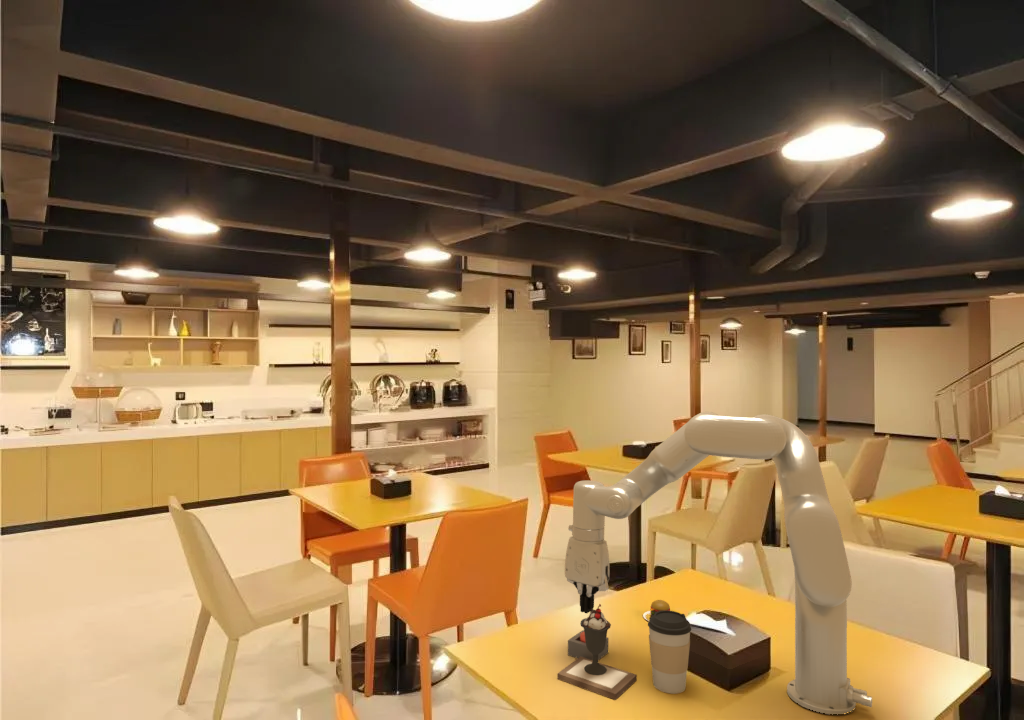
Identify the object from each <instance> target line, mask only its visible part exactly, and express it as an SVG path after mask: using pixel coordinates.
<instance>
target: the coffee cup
mask: <svg viewBox="0 0 1024 720" xmlns="http://www.w3.org/2000/svg"><path fill="white" fill-rule="evenodd" d="M648 620H649V621H647V622H648V623H647V627H648V631H649V634H648V641H649V642H648V643H649V654H650V666H651V670H652V672H651V673H652V684H653V686H654V688H655V689H657V690H658V691H660V692H663V693H667V694H672V695H673V694H681V693H683V692H684V691H685V690H686V688H687V687H686V684H687V673H688V672H687V670H688V666H689V658H690V657H689V656H690V646H691V639H690V638H691V637H690V635H691V631H692V627H691V623H690V621H689V620H688V619H687V617H686V614H685V613H680V612H677V611H675V610H670V611H669V610H662V611H657V612H655V613H654V615H653V616H652V617H651V616H650V617H649V619H648Z"/></svg>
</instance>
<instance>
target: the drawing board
mask: <svg viewBox="0 0 1024 720" xmlns="http://www.w3.org/2000/svg"><path fill="white" fill-rule="evenodd" d="M592 661H593V660H590V659H587V658H584V657H581V656H580V657H579V658H575V660H573V661H572V662H571V663H570V664H568V665H567V666H565V667H564V668H563V669H561V670H560V671H558V673H556V674H557V680H560V681H562V682H564V683H568V684H569V685H573V686H576V687H579V688H581V689H584V690H587V691H590V692H592V693H594V694H598V695H601V696H603V697H607V698H609V699H611V700H615V701H616V700H617V699H618V698H620V696H621V695H623V693H625V692H626V691H627V690H628V689H629V688H630V687H631V686H632V685H633V684H635V682H637V678H638V677H637V674H635V673H632V672H630V671H626V670H623V669H620V668H617V667H614V666H611V665H607V664H605V663H602V662H599V664H600V665H603V666H605V667H606V669H607V671H606V673H604V674H602V675H592V674H589V673H587V672H586V671H585V670H584V667H585V666H586V665H588V664H592Z"/></svg>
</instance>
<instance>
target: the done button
mask: <svg viewBox="0 0 1024 720" xmlns="http://www.w3.org/2000/svg"><path fill="white" fill-rule="evenodd" d="M580 641H581V642H584V643H586V641H585V632H582V633H580Z"/></svg>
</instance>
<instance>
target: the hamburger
mask: <svg viewBox="0 0 1024 720" xmlns="http://www.w3.org/2000/svg"><path fill="white" fill-rule="evenodd" d="M649 609H650V610H647V611H645V612H644V613H643V614H642V618H644V620H646V621H647V622H649V619H647V616H648V615H650V618H651V617H652V616H653V615H654V613H655V612H657V611H662V610H669V611H671V608H670V604H669V603H668V602H667V601H665V600H664V599H663V600H662V599H657V600H654V601H653V602H652V603H651V604H650V608H649ZM647 614H648V615H647ZM646 615H647V616H646Z"/></svg>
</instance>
